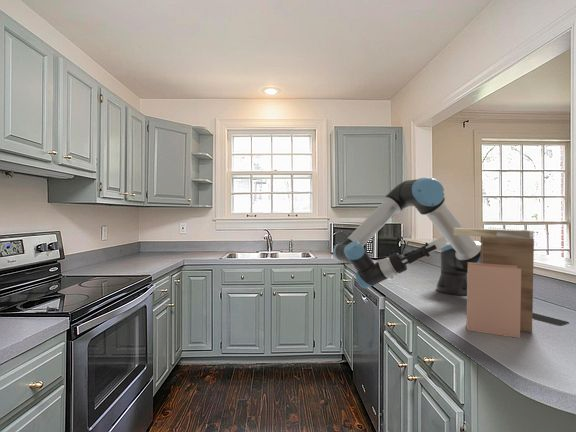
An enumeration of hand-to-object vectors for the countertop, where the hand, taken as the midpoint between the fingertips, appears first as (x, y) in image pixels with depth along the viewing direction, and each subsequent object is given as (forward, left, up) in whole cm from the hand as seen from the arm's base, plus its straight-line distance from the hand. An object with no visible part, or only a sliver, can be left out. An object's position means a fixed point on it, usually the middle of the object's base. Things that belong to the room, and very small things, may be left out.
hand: (445, 240), depth 118 cm
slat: (-2, +13, +2) cm, 13 cm away
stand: (0, +18, -28) cm, 34 cm away
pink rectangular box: (+9, +14, -28) cm, 32 cm away
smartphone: (-15, +31, -29) cm, 45 cm away
